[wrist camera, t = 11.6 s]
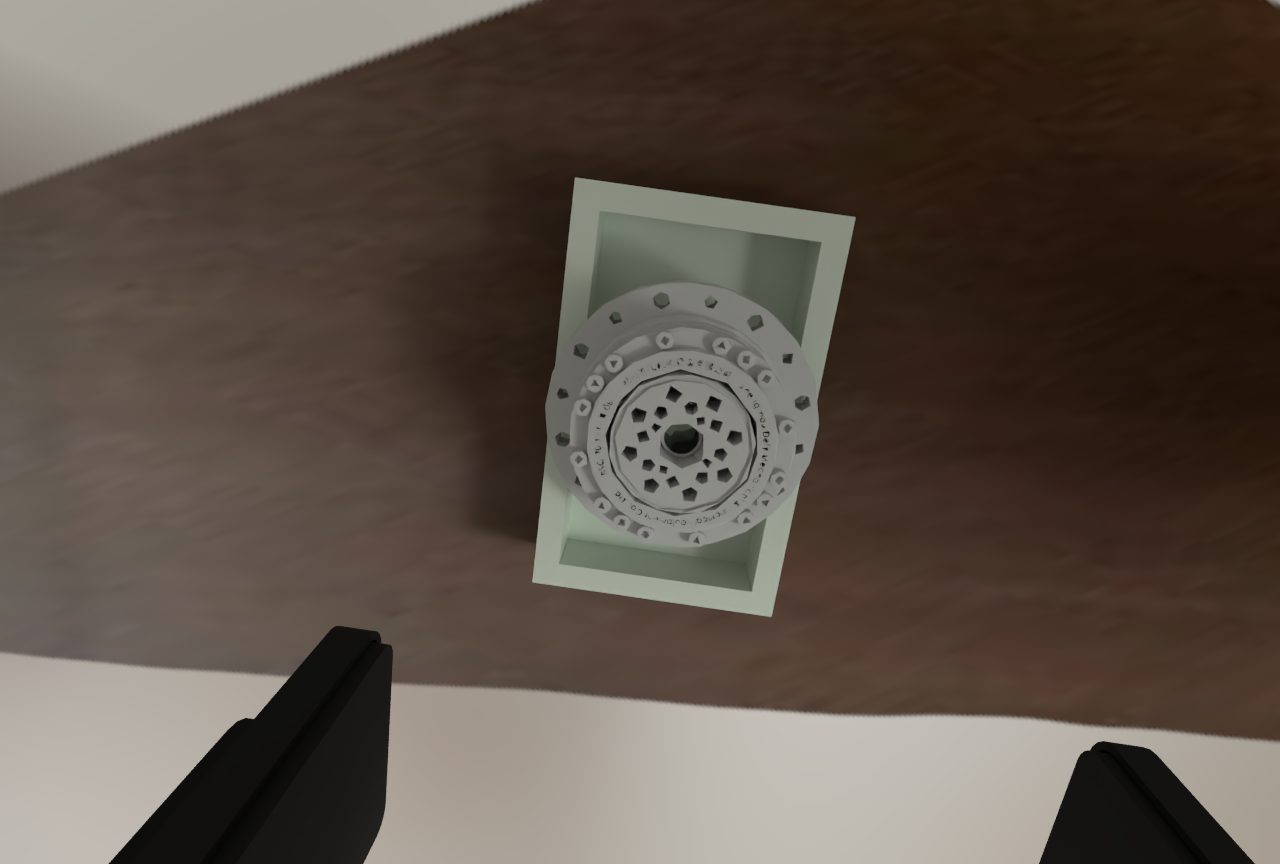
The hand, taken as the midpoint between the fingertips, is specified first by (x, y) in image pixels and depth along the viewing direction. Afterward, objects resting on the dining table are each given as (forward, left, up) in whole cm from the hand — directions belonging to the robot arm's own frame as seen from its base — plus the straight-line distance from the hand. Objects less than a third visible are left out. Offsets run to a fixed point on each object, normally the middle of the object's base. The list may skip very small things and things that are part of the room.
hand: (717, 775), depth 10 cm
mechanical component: (0, 0, -19) cm, 19 cm away
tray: (0, 0, -22) cm, 22 cm away
